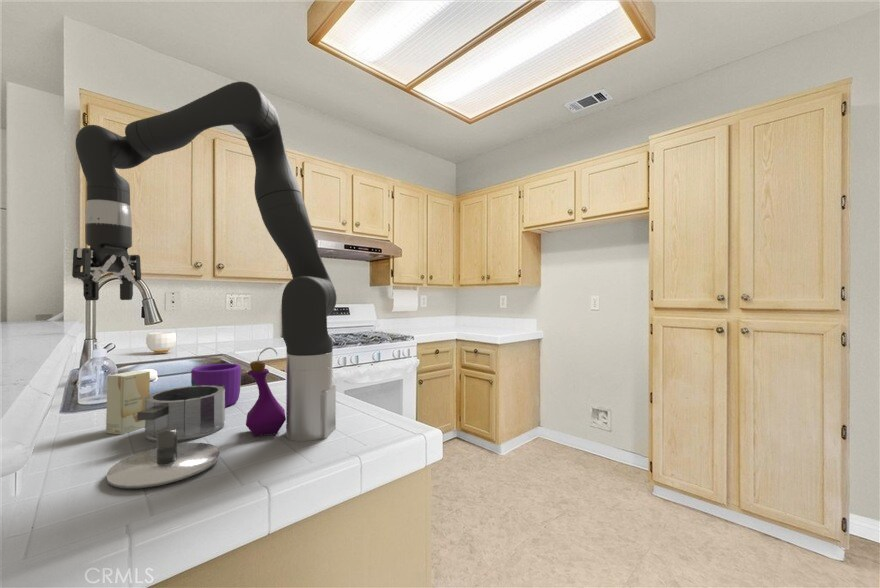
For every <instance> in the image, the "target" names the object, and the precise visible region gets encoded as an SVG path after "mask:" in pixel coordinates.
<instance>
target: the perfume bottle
mask: <svg viewBox="0 0 880 588" xmlns="http://www.w3.org/2000/svg"><path fill="white" fill-rule="evenodd" d="M267 350H272V351H274V352H275V354H276V355H278V352H277V350H276V349H275V348H274V347H272V346H271V347H270V346H268V347H265V348H264V349H263V350H261V351H260V352H259V355H258V357H257V360H254V361H252V362H250V363H249V366H250V369H251V370H249V371H247V375H248V376H250V377H252V378H253V379H254V381H255V383H256V384H257V389H258V398H257V400H256V401H255V403H254V405H252V407H251V408H250V410H249V411H248V412H247V415H246V420H245V426H246V428H247V429H248V430H249V431H250V433H252V434H253V436H255V437H264V436H270V435H271V436H272V435H276V434H278V433H279V431H280V430H281V428H282V426H283V425H284V424H285V422H286V412H285V408H283V407H282V406H283V405H281V404H280V403H279V402H278V400H277V399H276V397H275V396H274V395H273V393H272V391H271V389H270V386H269V384H268V382H267V378H266V377H267V374H270V371H269V368H266V363H265V362H264V361H261V360H260V356H261V354H262V353H264V352H265V351H267Z"/></svg>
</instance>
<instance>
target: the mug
mask: <svg viewBox="0 0 880 588" xmlns="http://www.w3.org/2000/svg"><path fill="white" fill-rule="evenodd" d="M190 371H191V372H190V373H191V376H190V378H191V379H190V380H191V381H190V382H191V385H190V386H200V385H225V408H226V407H230V406H231V405H234V404H235V403H237V402H238V400H239V398H240V394H241V383H242V381H241V380H242V366H241V365H240V364H237V363H213V364H205V365H200V366H196V367H194V368H192V369H191V370H190Z"/></svg>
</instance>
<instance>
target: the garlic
mask: <svg viewBox="0 0 880 588" xmlns="http://www.w3.org/2000/svg"><path fill="white" fill-rule="evenodd" d="M139 371H149V372H150V382H153V383H155V382H157V381H158V380H159V377H158V371H157V370H155V369H153V368H147V369H139Z"/></svg>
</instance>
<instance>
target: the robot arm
mask: <svg viewBox="0 0 880 588" xmlns="http://www.w3.org/2000/svg"><path fill="white" fill-rule="evenodd" d="M221 126H233V128H235V129H236V130H237V131H239V132H240V133H241V134H242V135H243V136H244V138H245V140H246V142H247V144H248V146H249V149H250V152H251V155H252V157H253V161H254V165H255V176H254V196H255V200H256V204H257V207H258V210H259V213H260V215H261V219H262V222H263V224H264V226H265V229H266V230H267V232H268V234H269V235H270V237H271V238H272V240H273V242H274V243H275V245H276V246H277V247H278V249H279V251H280V252H281V254H282V256H283V257H284V259H285V260H286V262H287V266H288V267H289V270H290V274H291V277H292V279H291V280H289V282H287V284H286V285H285V286H284V289H283V291H282V295H281V329H282V339H283V342H284V343H285V346H286V347H285V349H286V374H285V375H286V385H285V387H286V399H285V400H286V401H285V402H286V403H285V405H286V412H285V417H286V420H285V422H286V425H285V426H286V427H285V429H286V434H285V435H286V439H288V440H290V441H294V442H311V441H317V440H326V439H328V437H330V435H331V434H332V433H333V432H334V431H335V430H336V428H337V427H336V424H337V423H336V421H337V419H336V417H337V416H336V414H337V413H336V409H337V408H336V400H337V399H336V397H337V396H336V393H337V391H336V390H337V388H336V387H337V386H336V385H334V384H333V339H332V338H331V336H330V335H329V331H328V319H327V318H328V316H330V315H331V314H332V313H333V311H334V309H335V307H336V303H337V293H336V289H335V286H334V284H333V281H332V280H331V277H330V276H329V273H328V271H327V269H326V266H325V264H324V262H323V260H322V257H321V255H320V252H319V248H318V245H317V241H316V238H315V234H314V230H313V227H312V225H311V220H310V219H309V218H310V217H309V214H308V211H307V208H306V204H305V202H304V201H305V200H304V198H303V194H302V192H301V189H300V187H299V184H298V181H297V177H296V175H295V172H294V170H293V168H292V167H293V166H292V165H291V162H290V160H289V157H288V154H287V150H286V145H285V142H284V138H283V132H282V128H281V122H280V118H279V114H278V111H277V109H276V107H275V106H274V105H273V103H272V102H271V101H270V100H269V99H268V98H267V97H266V95H264V94H263V93H262V92H261V90H259V88H257V87H256V86H255V85H254V84H252V83H250V82H248V81H247V82H246V81H236V82H231V83H229V84H226V85H224V86H221V87H220V88H217V89H216V90H214V91H212V92H209V93H207V94H206V95H204V96H201V97H199V98H197V99H195V100H192V101H191V102H189V103H187V104H184V105H182V106H180V107H178V108H175V109H172V110H170V111H167V112H163V113H160V114H156V115H153V116H150V117H149V116H148V117H146V118H142V119H138V120H137V119H136V120H134V121H131V122H130V123H128V124H126V126H125V129H124V134H125V136H122V135H120V134H117V133H115V132H113V131H111V130H109V129H108V128H105V127H103V126H101V125H97V124H88V125H84V126H83V127H81V129H80V130H79V131H78V133H77V134H76V137H75V149H76V154H77V158H78V160H79V164H80V167H81V170H82V172H83V175H84V178H85V180H86V206H85V210H84V211H85V218H84V219H85V226H84V227H85V230H84V231H85V244H86V245H87V246H89V247H82V248H81V247H75V248H74V249H73V250H72V252H73V253H72V254H73V255H72V274H71V275H72V278H73V279H79V280H80V281H81V282H82V283H83V284H82V286H83V288H82V289H83V294H82V295H83V297H84V300H85V301H98V300H99V298H100V296H99V295H100V294H99V293H100V292H99V290H100V288H99V287H100V286H99V279H100V278H101V277H102V275H104V274H106V273H112V274H113V275H114V276H116V277H117V278H118V280H119V299H120V300H121V301H131V300H133V296H134V283H136V282H138V281H142V268H141V266H142V265H141V256H140V255H139V254H129V253H128V249H130V248H132V246H133V217H132V210H131V187H130V186H131V185H130V183H129V182H128V181H127V179H125V178H124V177H123V176H121V175H120V174H119V173H118V172H117V169H119V170H127V169H133V168H135V167H137V166H140V165H142V164H143V163H145V162H146V161H148V160H150V159H151V158H152V157H154V156H156V155H157V156H158V155H161V154H165V153H167V152H172V151H176V150H179V149H181V148H184V147H186V146H187V145H189V144H190V143H192V141H193V140H194V139H195V138H197V137H198V136H199V135H200V134H201V133H202V132H204V131H207V130H208V129H211V128H212V129H213V128H215V127H221ZM81 267H82V268H81ZM81 269H82V271H81ZM133 271H134V273H133ZM133 274H134V275H133Z"/></svg>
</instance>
